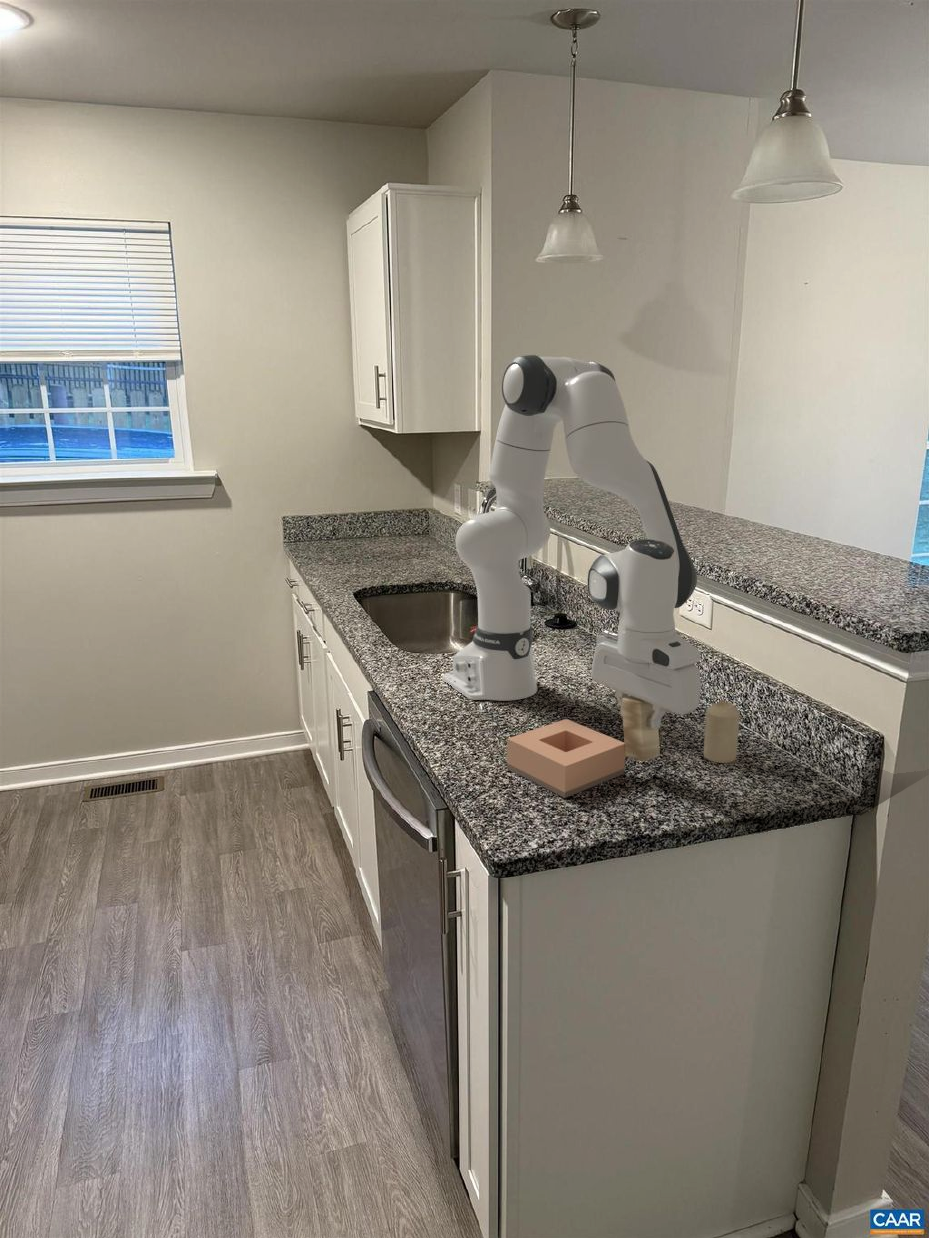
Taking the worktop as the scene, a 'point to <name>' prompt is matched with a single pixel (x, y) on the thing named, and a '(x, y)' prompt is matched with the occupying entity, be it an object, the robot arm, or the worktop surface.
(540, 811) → the worktop surface
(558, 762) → the well block
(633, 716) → the peg
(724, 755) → the candle
